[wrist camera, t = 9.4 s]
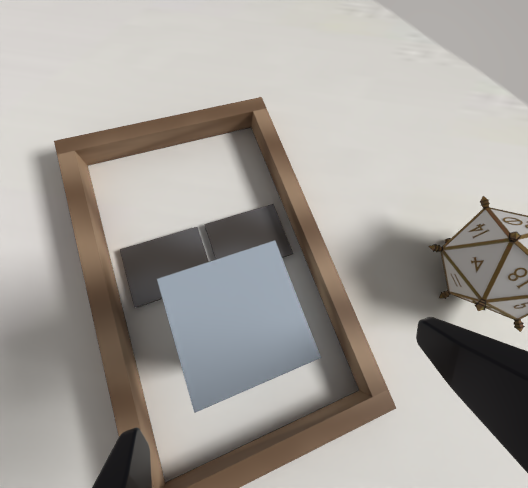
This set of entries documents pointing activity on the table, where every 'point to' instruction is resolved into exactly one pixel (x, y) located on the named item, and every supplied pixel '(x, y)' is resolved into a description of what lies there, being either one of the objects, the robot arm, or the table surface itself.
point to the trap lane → (193, 254)
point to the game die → (490, 263)
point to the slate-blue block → (236, 323)
